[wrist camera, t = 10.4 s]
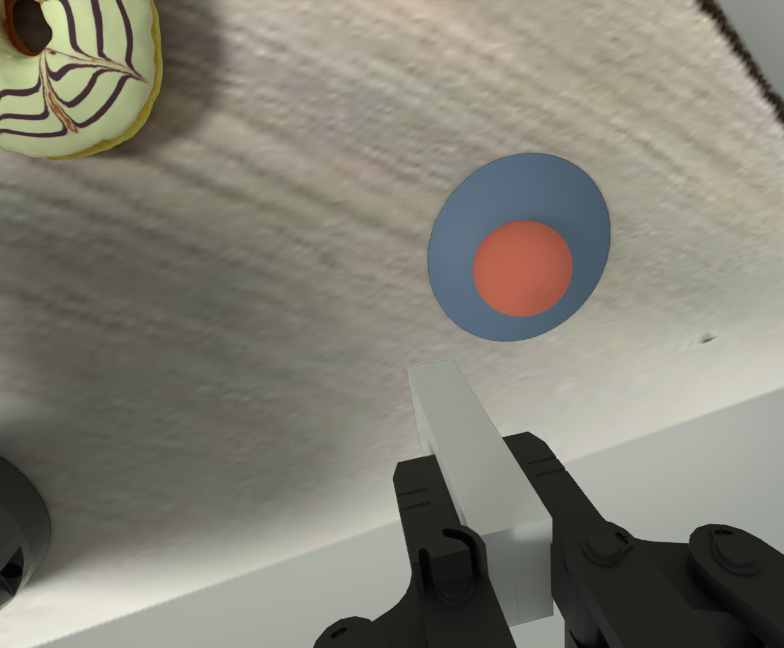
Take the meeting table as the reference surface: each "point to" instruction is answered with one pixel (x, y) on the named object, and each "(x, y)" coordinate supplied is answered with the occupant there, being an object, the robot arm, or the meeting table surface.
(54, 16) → the decorated donut
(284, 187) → the meeting table surface
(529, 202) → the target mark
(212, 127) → the meeting table surface
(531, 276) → the ball
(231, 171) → the meeting table surface
